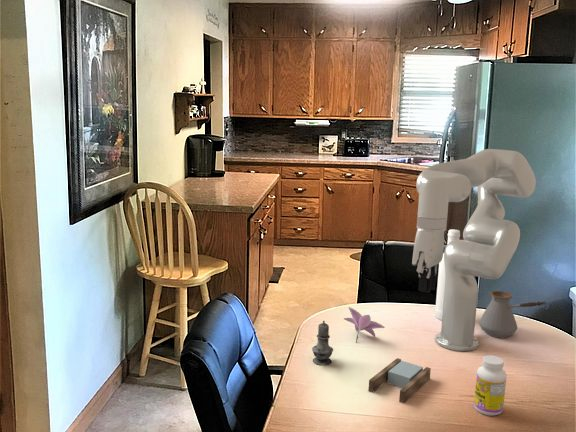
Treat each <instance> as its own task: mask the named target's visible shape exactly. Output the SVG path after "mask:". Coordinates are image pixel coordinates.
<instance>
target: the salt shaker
mask: <svg viewBox="0 0 576 432" xmlns="http://www.w3.org/2000/svg"><path fill="white" fill-rule="evenodd" d="M329 328H330V327H329V324H328V323H326V321H325V320H323V321H322V322H321V323H319V324H318V329H317V335H316V338H317V343H316V345H314V346H312V347H311V351H312V353H313V356H314V357H313V359H312V362H313V364H315V365H316V366H329V365H331V364H332V359H331V358H330V357H331V356H332V354H333V352H334V348H333V347H332V346H331V345H329V340H330V337H331V335H330V334H329V333H330V332H329V331H330V329H329Z"/></svg>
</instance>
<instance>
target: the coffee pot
mask: <svg viewBox="0 0 576 432" xmlns="http://www.w3.org/2000/svg"><path fill="white" fill-rule="evenodd" d="M490 296H491V301H490V302H489V303H488V305H487V307H486V308H485V310H484V312H483V313H482V315H481V317H480V318H479V321H478V324H479V327H480V328H481V330H482V331H483V333H485V334H486V335H487V336H491V337H494V338H498V339H499V338H501V339H504V338H509V337H510V336H511V335H513V334H514V333H516V331H517V330H518V323H517V321H516V318H515V316H514V311H513V309H514V308H523V307H524V308H525V307H527V308H529V307H535V306H538V307H539V306H542V307H543V309H544V310H547V309H549V304H548V303H547V302H546V301H537V302H532V301H531V302H524V303H518V304H510V300H511V299H512V297H513V295H512V294H511V293H510V292H508V291H507V292H506V291H503V290H493V291H491V292H490ZM545 305H546V306H547V307H544V306H545Z"/></svg>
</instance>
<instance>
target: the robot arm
mask: <svg viewBox="0 0 576 432" xmlns="http://www.w3.org/2000/svg"><path fill="white" fill-rule="evenodd" d="M536 182H537V179H536V176H535V172H534V171H533V169H532V166H531V165H530V164H529V162H528V160H527V159H526V157H525V156H524V155H523V153H521V152H519V151H517V150H511V149H510V150H509V149H508V150H507V149H497V148H496V149H495V148H486V149H485V148H484V149H482V150H480V151H478V152H476V153H475V154H473V155H471V156H469V157H467V158H464V159H463V158H462V159H457V160H451V161H446V162H439V163H436V164H434V165H433V164H432V165H431V166H428V167H427V168H425V169H423V170H422V172H420V173H419V174H418V177H417V179H416V184H415V186H416V191H417V193H418V205H417V217H416V229H417V230H416V233H415V238H414V243H413V252H412V260H411V261H412V262H411V265H412V266H417V268H416V272H417V273H418V287H417V288H418V289H417V290H418V291H419V292H422V293H427V294H429V293H431V291H435V290H436V280H437V279H436V278H437V276H436V275H437V274H438V273H437V270H438V267H439V263H440V262H441V261H442V258H443V253H444V263H445V291H444V303H443V315H442V321H441V329H440V332H438V333H436V334H435V338H434V339H435V341H434V342H436V344H438V345H439V346H441V347H443V348H445V349H448V350H452V351H456V352H457V351H458V352H469V351H473V350H475V349H477V348H478V347H479V344H480V342H479V340H478V339H477V338H476V337H475V327H476V315H477V306H478V296H479V286H478V283H477V279H476V277H479V278H483V279H488V280H498V279H499V278H501V277H502V275H504V273H505V271H506V269H507V267H508V265H509V263H510V262H511V260H512V258H513V257H514V254H515V252H516V251H517V248H518V245H519V242H520V238H521V230H520V227H519V226H518V224H517V223H516V222H514V221H512V220H508V219H504V217H505V215H506V210H505V208H504V206H503V203H502V202H501V200H500V199H499V198H498V195H499V196H500V195H501V196H506V197H515V198H521V199H523V198H528V197H530V196H531V195H532V194H533V193H534V191H535V189H536V185H537V184H536ZM476 187H477V206H476V208H475V210H474V211H473V213H472V215H471V216H470V218H469V220H468V222H466V225H465V226H464V229H463V232H462V237H463V238H462V239H459V240H454V241H451V242H450V243H448V242H447V243H448V244H446V246H445V231H447V226H448V224H447V222H448V213H449V203H460V202H463V201H465V200H466V199H467V198H468V197H469V196H470V194H471V191H472V188H476ZM444 246H445V247H444Z"/></svg>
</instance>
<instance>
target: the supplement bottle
mask: <svg viewBox="0 0 576 432" xmlns="http://www.w3.org/2000/svg"><path fill="white" fill-rule="evenodd" d="M481 361H482V365H481V366H479V367H478V368H477V370H476V378H475V387H474V389H475V390H474V397H473V398H474V399H473V406H474V409H475V410H476V411H477V412H479V413H481V414H482V415H485V416H498V415H500V414H502V412H503V410H504V404H505V394H506V386H507V373H506V370H504V369H503V368H504V365H505V364H504V359H503V358H501V357H499V356H495V355H484V356H483V357H482V360H481Z"/></svg>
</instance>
